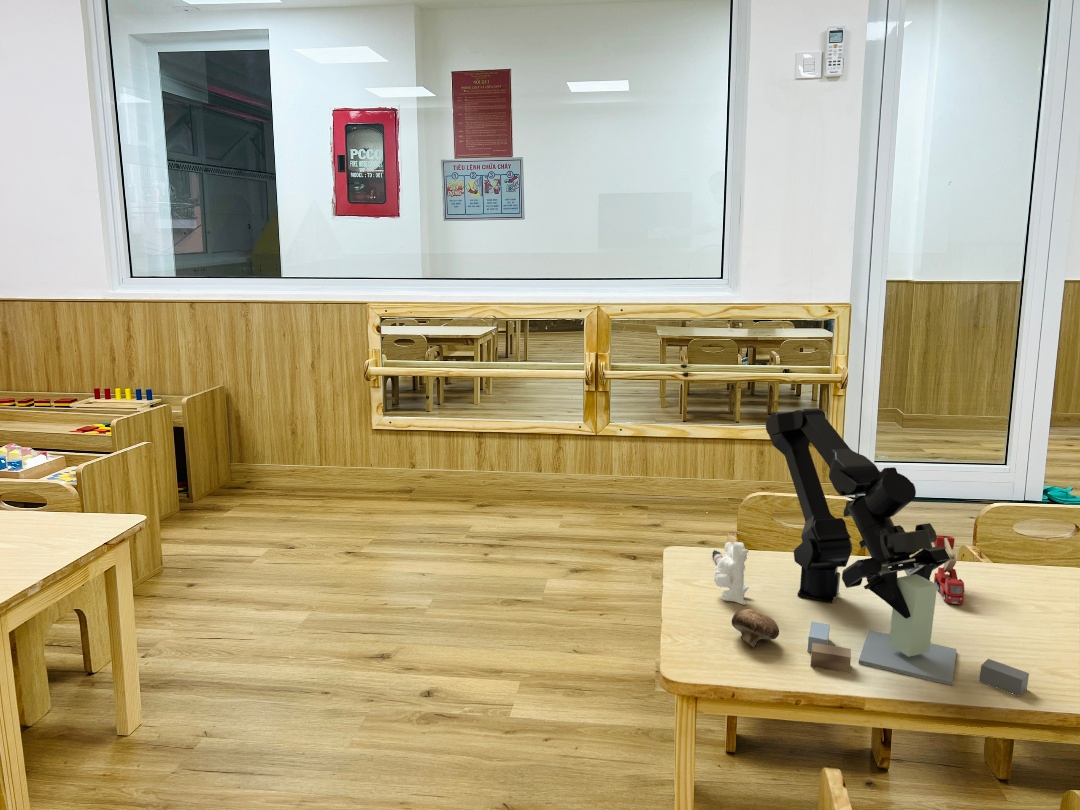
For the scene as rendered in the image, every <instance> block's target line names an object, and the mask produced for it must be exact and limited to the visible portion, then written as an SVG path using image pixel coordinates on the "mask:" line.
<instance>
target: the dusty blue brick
mask: <svg viewBox="0 0 1080 810" xmlns="http://www.w3.org/2000/svg"><path fill="white" fill-rule="evenodd" d="M830 625H831V624H829V623H824V622H818V621H811V624H810V628H809V634H808V638H807V639H808V640H807V652H808V653H812V643H818V644H824V645H829V644H828V643H829V637H830V636H829V635H830V628H831V627H830ZM807 652H806V653H807Z"/></svg>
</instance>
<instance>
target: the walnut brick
mask: <svg viewBox="0 0 1080 810" xmlns="http://www.w3.org/2000/svg"><path fill="white" fill-rule="evenodd" d="M851 651H852V648H847V647H841V646H836V645H830V644H828V645H824V644H818V643H812V653H811V652H810V653H811V654H810V668H816V669H822V670H827V671H833V672H837V673H845V674H850V671H851V660H852V652H851Z"/></svg>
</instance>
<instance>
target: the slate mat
mask: <svg viewBox="0 0 1080 810" xmlns="http://www.w3.org/2000/svg"><path fill="white" fill-rule="evenodd" d="M889 637H890V633H886V632H882V631H876V630H872V629H868V631H867V635H866V638H865V640H864V643H863V646H862V649H861V652H860V655H859V658H858V664H860V665H865V666H869V667H873V668H877V669H880V670H881V669H882V670H885V671H890V672H894V673H899V674H903V675H907V676H911V677H915V678H920V679H924V680H928V681H933V682H937V683H941V684H945V685H949V686H953V683H954V682H953V681H954V673H955V665H956V655H957V648H955V647H950V646H946V645H940V644H937V643H931V642H930V650H929V652H927V653H923V654H919V655H914V656H910V657H908V656H907V655H905V654H903V653H902V652H900V651H899V650H897V649H895V648H894V647H892V646H891V645H889Z"/></svg>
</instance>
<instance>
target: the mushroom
mask: <svg viewBox="0 0 1080 810" xmlns="http://www.w3.org/2000/svg"><path fill="white" fill-rule="evenodd" d="M731 625H732V627H733V629H735V630H736V631H738V632H739V633H740V634H741V636H740V638H741V639H742V640H743V641H744V642H746V644H748V645H749V646H751V647H752V648H753V649H754V648H755V647H756V644H757V643H758V641H760V640H770V641H771V640H776V639H777V638H778V637H779V635H780V628H779V626H778V625H779V624H777V622H776V621H775V620H774V619H773V618H772V617H771V616H769V615H767V614H765V613H763V612H760V611H758V610H755V609H751V608H748V609H741V610H739V611H736V612H735V613H734V614H733V616H732V619H731Z"/></svg>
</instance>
